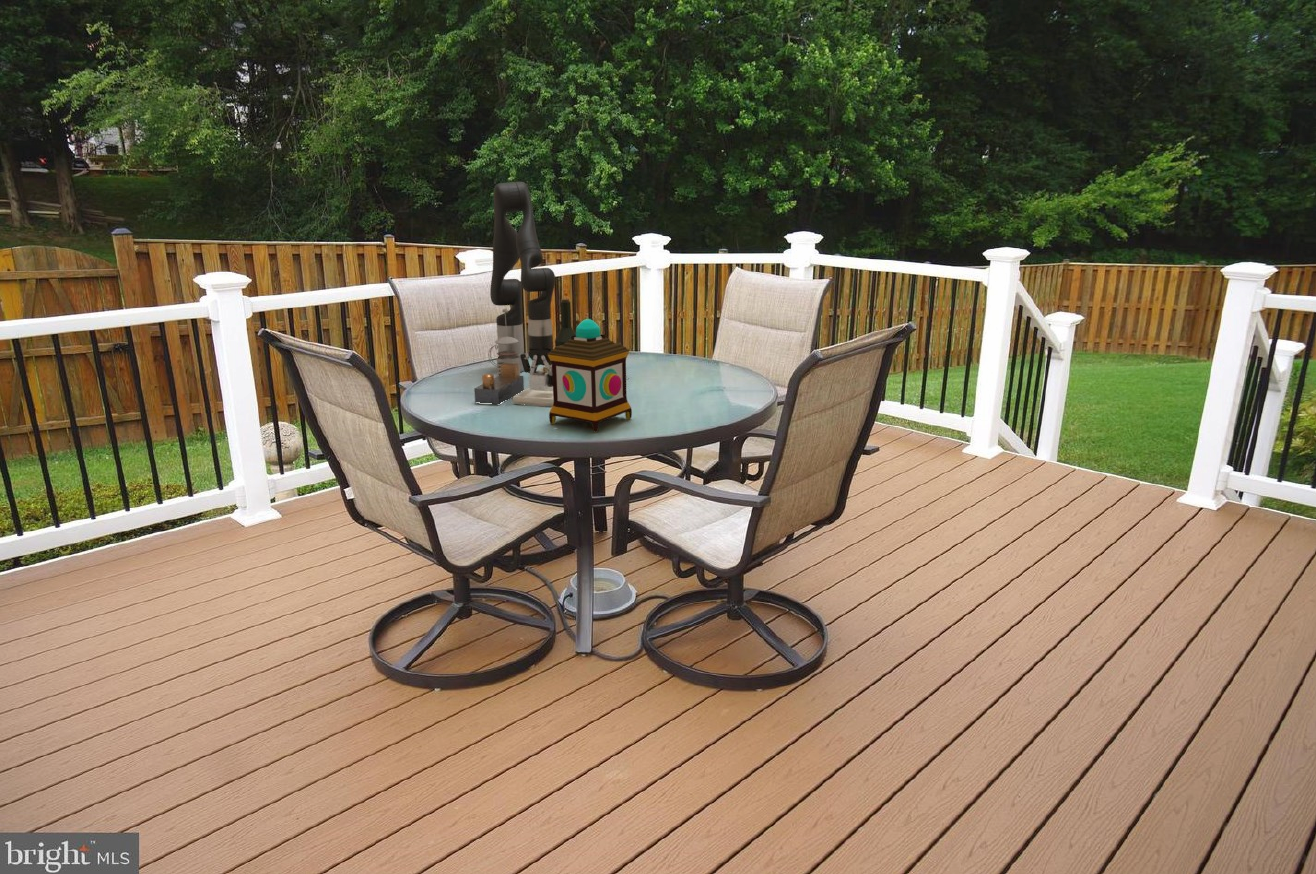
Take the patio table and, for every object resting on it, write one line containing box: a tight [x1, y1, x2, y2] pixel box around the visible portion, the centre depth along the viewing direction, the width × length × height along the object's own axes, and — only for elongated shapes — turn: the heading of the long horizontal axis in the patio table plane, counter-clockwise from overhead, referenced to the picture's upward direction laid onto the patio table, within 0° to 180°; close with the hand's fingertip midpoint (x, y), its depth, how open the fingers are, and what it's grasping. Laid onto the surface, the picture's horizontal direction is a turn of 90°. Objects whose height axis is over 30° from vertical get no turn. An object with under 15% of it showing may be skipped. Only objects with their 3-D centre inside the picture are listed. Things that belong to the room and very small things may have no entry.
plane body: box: [473, 363, 525, 405], centre depth 282 cm, size 20×8×9 cm, turn 165°
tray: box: [512, 386, 554, 408], centre depth 279 cm, size 16×14×2 cm
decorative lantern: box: [548, 318, 633, 433], centre depth 250 cm, size 20×20×30 cm
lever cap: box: [528, 366, 549, 390], centre depth 277 cm, size 10×5×6 cm, turn 165°
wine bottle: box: [554, 298, 576, 348], centre depth 288 cm, size 8×8×30 cm
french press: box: [487, 308, 521, 377], centre depth 302 cm, size 10×12×25 cm
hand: (543, 385), depth 278 cm, fingers closed on lever cap, 5 cm apart
